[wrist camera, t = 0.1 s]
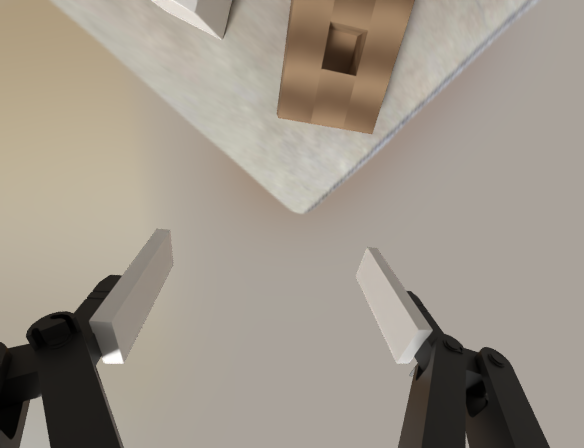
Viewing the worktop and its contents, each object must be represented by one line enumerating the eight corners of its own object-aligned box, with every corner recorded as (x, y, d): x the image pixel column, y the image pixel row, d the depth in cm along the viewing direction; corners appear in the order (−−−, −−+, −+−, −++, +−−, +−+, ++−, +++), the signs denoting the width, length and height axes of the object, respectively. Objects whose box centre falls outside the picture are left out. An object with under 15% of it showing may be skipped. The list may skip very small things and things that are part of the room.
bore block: (297, -50, 29) (303, -73, 24) (403, -18, 31) (425, -34, 27) (276, 113, 37) (278, 117, 33) (360, 128, 40) (372, 134, 35)
